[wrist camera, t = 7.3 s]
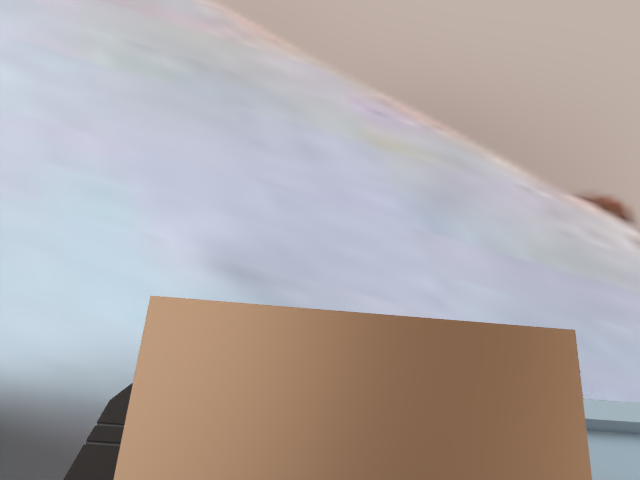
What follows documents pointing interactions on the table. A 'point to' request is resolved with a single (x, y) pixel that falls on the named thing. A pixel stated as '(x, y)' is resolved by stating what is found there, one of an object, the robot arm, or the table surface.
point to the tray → (613, 439)
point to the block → (349, 397)
